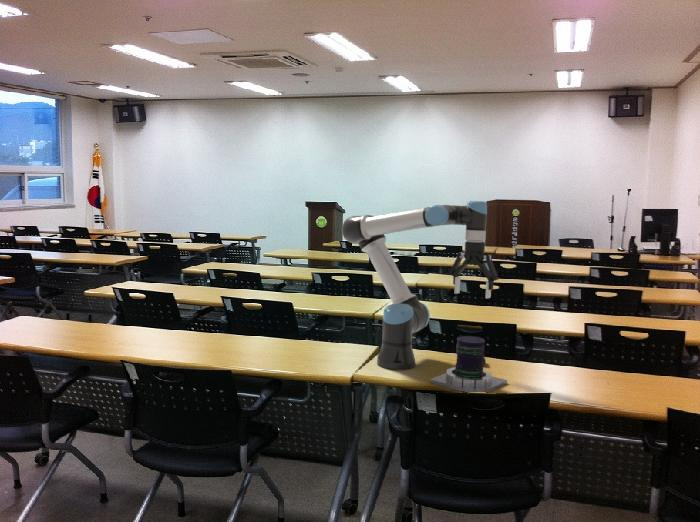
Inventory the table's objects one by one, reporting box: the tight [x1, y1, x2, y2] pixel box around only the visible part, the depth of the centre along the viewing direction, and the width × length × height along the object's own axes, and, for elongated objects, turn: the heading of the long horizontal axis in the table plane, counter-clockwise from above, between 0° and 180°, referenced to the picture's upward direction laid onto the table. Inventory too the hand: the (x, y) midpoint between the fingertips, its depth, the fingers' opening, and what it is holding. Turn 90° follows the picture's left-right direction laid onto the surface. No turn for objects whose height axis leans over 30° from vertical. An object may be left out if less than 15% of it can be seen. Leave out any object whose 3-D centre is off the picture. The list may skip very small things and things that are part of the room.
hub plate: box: [429, 366, 508, 393], centre depth 206 cm, size 20×20×4 cm
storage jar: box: [454, 335, 485, 379], centre depth 205 cm, size 10×10×15 cm
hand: (472, 295), depth 222 cm, fingers open, 13 cm apart
